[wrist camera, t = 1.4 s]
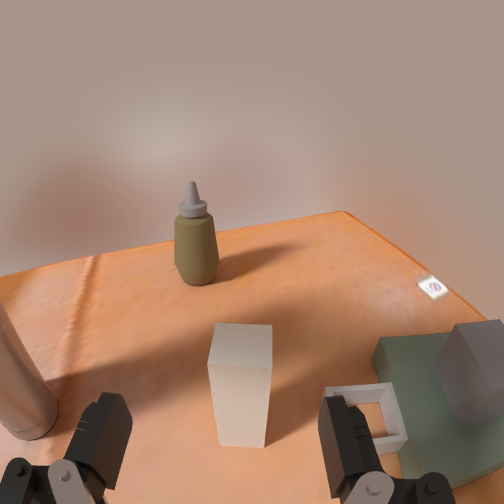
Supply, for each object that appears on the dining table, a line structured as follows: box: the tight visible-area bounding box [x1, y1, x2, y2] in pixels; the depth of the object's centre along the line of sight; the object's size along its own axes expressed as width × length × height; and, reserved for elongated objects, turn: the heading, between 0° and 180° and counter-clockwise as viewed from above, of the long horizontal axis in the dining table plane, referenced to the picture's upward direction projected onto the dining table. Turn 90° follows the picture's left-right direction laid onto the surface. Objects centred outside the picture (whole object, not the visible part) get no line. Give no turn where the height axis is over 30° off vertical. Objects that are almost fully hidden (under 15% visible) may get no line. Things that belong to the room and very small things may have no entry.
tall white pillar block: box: [207, 322, 272, 448], centre depth 26 cm, size 5×5×14 cm
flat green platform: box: [321, 319, 504, 490], centre depth 26 cm, size 24×22×11 cm
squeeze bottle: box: [175, 182, 219, 286], centre depth 52 cm, size 8×8×18 cm
